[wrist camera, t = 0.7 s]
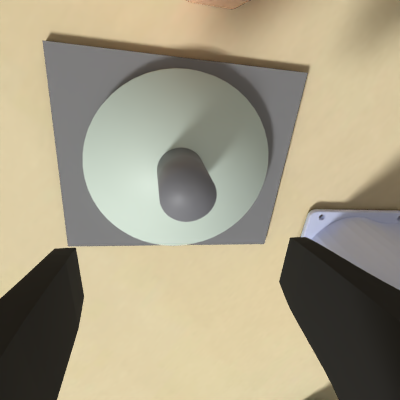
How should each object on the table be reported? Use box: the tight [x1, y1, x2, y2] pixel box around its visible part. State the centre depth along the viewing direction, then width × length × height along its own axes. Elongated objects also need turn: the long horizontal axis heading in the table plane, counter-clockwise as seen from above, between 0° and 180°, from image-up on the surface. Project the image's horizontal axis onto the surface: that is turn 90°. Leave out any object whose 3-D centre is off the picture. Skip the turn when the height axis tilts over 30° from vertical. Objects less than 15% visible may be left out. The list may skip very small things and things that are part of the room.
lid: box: [83, 68, 268, 246], centre depth 15 cm, size 11×11×4 cm
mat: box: [43, 41, 308, 246], centre depth 17 cm, size 14×12×1 cm
